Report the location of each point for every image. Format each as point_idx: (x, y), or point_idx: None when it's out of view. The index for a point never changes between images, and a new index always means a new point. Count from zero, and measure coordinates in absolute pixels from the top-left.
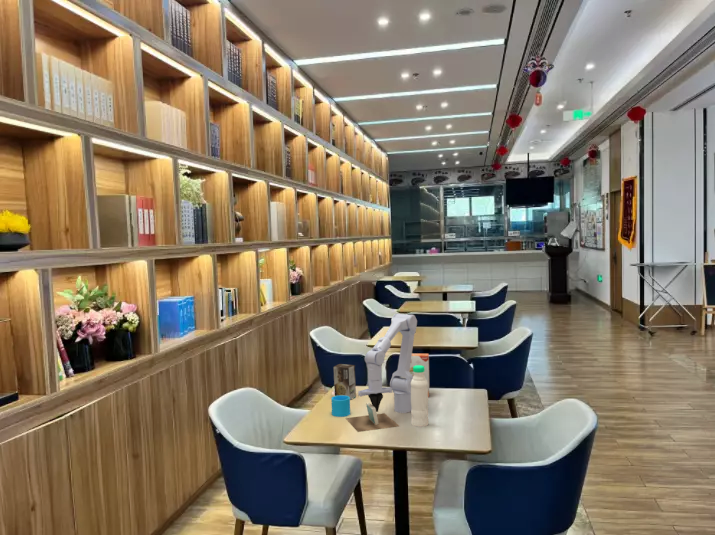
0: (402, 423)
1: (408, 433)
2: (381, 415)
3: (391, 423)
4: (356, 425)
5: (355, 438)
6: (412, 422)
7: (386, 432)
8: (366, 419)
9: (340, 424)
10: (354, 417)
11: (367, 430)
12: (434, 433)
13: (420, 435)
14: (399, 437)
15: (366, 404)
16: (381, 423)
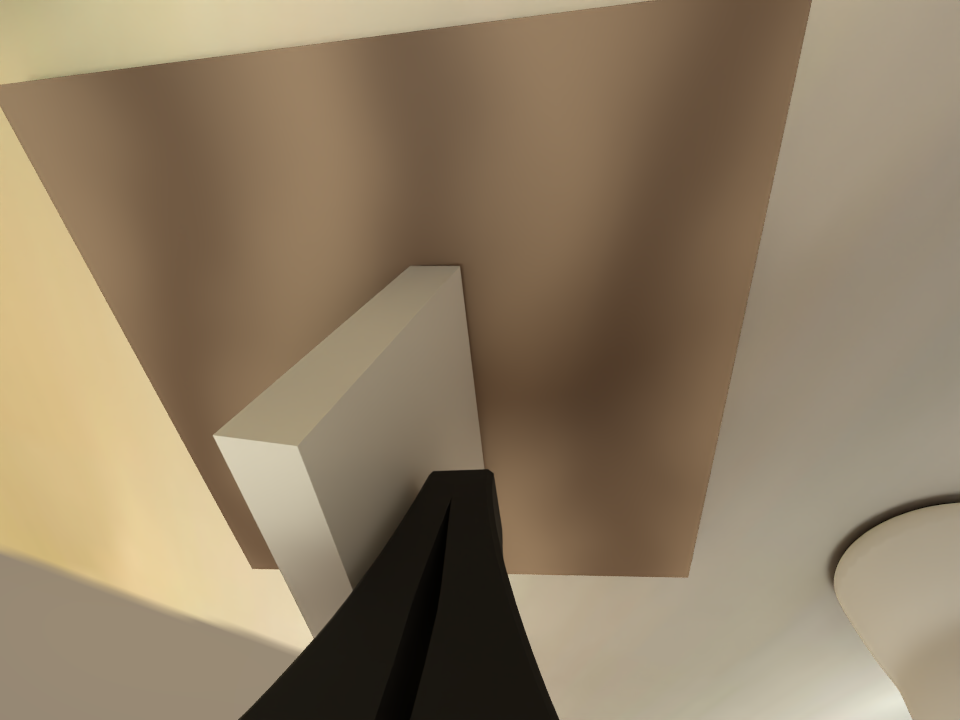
0: (807, 449)
1: (689, 640)
2: (672, 138)
3: (644, 498)
4: None
5: (249, 596)
6: (856, 612)
7: (519, 581)
8: (361, 269)
9: (13, 249)
10: (152, 97)
11: None
12: (884, 691)
13: (752, 684)
14: (580, 666)
15: (236, 435)
16: (529, 466)
